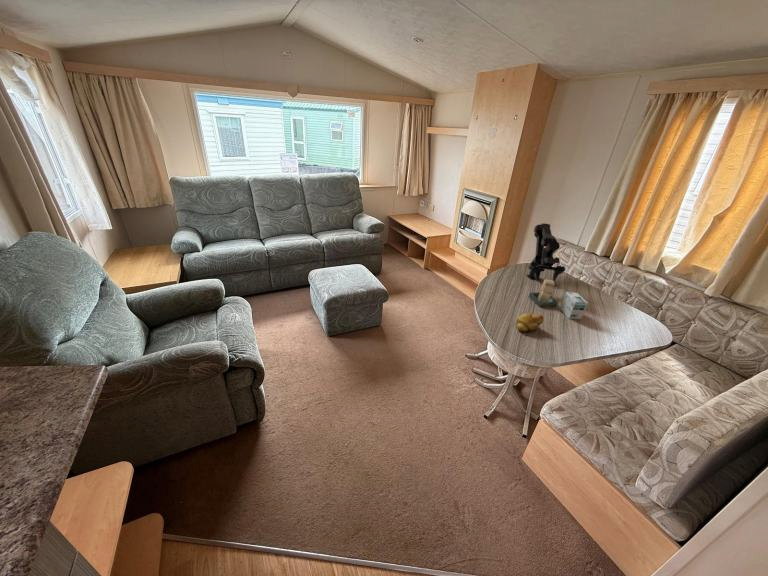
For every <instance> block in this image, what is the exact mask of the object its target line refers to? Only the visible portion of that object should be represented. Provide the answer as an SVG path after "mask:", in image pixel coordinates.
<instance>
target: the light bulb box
mask: <svg viewBox="0 0 768 576" xmlns="http://www.w3.org/2000/svg"><path fill="white" fill-rule="evenodd" d="M561 301H562V302H561V304H560V306H559V310H560V311H561V312H562V313H563V314H564V315H565V317H566V318H567V319H570V320H581V319H582V318H583V315H584V313H585V311H586V308H587V306H588V304H589V302H588V301H587V300H586V299H585V298H584V297H583V296H581V294H579V292H569V291H566V292H565V295H564V296H563V300H561Z"/></svg>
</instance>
